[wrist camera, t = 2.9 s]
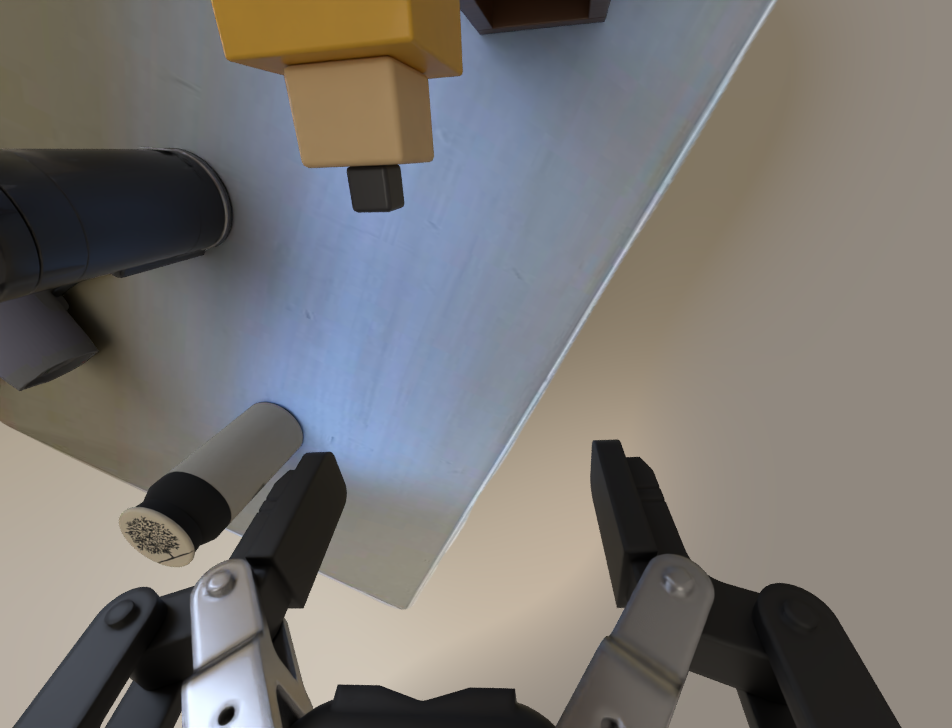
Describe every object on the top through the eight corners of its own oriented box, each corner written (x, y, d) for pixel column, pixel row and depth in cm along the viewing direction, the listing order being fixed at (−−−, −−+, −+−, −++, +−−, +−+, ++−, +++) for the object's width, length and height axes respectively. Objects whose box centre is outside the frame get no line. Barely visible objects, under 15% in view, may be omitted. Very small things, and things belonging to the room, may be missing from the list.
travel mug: (236, 408, 54) (98, 513, 38) (283, 394, 51) (155, 502, 35) (269, 456, 57) (153, 572, 41) (315, 445, 54) (210, 566, 38)
